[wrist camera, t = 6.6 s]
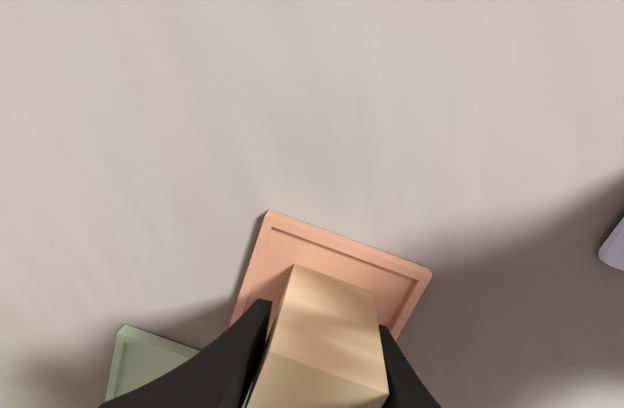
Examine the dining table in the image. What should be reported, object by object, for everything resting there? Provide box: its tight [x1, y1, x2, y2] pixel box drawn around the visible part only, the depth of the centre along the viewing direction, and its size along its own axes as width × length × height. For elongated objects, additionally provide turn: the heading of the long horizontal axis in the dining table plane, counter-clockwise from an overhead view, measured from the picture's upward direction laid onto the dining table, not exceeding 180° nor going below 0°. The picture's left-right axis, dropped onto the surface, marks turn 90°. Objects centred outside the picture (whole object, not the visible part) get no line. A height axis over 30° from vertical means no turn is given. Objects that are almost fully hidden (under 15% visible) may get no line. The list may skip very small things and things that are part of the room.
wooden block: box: [244, 263, 389, 408], centre depth 12 cm, size 4×4×5 cm
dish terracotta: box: [228, 210, 433, 342], centre depth 14 cm, size 7×7×1 cm
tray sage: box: [105, 324, 253, 408], centre depth 17 cm, size 7×7×1 cm
